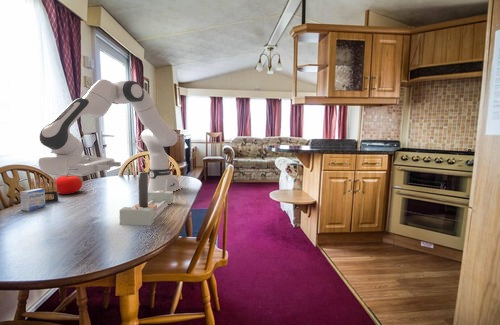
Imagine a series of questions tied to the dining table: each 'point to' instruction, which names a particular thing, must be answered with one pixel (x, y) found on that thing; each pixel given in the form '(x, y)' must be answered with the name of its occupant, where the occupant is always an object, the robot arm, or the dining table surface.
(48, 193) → the ammunition clip
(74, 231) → the dining table surface
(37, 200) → the medicine box
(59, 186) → the tomato
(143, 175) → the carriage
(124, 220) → the track
